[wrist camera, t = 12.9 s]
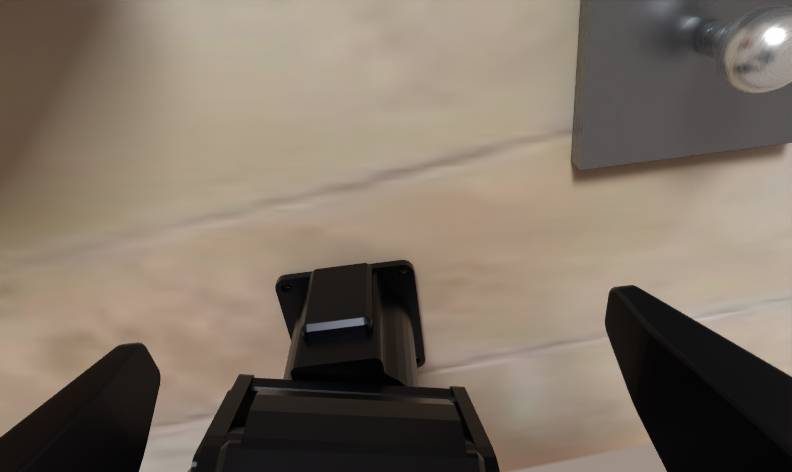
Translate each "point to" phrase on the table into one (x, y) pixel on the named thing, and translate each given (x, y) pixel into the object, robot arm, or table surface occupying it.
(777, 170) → the table surface
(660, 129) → the stud plate
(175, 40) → the table surface
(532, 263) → the table surface
